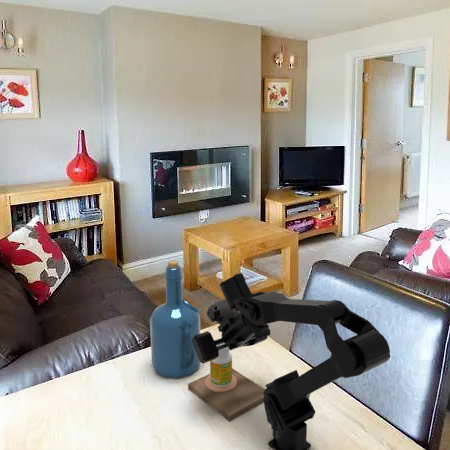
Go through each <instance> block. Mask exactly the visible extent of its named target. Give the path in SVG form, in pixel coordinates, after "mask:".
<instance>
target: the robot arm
mask: <svg viewBox="0 0 450 450" xmlns="http://www.w3.org/2000/svg"><path fill="white" fill-rule="evenodd" d="M219 287H220V288H219V289H220V291H221V292H222V295H223V296H224V298H225V299H221V300H219V301H215V303H213V304H211V305H210V306H209V307H208V308H207V312H206V315H207V318H208V319H209V320H210V322H212V323H214V322H217V323H218V324H219V325H218V326H217V329H218V331H219V332H220V333H221V337H220V338H218V339H214V338H213V335H212V333H211V332H209V331H204V332H202V333H201V332H200V334H198V335H195V336H194V337H193V338H192V344H193V346H194V349H195V351H196V353H197V356H198V358H199V361H200V364H206V363H210V361H212V360H214V359H216V358H217V357H218V356H219V350H222V349H224V348H227V347H229V352H230V351H234V350H235V349H238V348H241V347H251V346H255V345H257V344H259V343H262V342H264V341H266V340H268V337H269V336H271V333H272V332H271V328H270V326H269V324H272V323H276V322H286V323H287V322H288V323H295V324H302V325H303V324H304V325H311V326H318V327H319V328H320V330H321V331H322V332H323V337H324V341H325V345H326V348H327V350H328V351H329V352H330V356H329V358H327V359H325V360H324V361H322V362H320V363H319V364H317V365H315V366H314V367H312V368H311V369H309V370H308V371H306V372H304V373H302V374H300V375H299V373H298V369H295V370H293V371H290V372H288V373H286V374H283V375H281V376H280V377H277V378H275V379H274V380H273V381H271V382H269V383H267V384H264V386H265V387H266V388H264V389H265V390H264V393H263V394H264V398H263V403H262V404H263V407H264V411H265V415H266V416H265V417H266V420H267V423H268V424H269V425H270V426H271V430H272V439H270V440H269V441H268V442H267V444H268V446H269V447H271V448H272V449H273V450H310V449H311V448H312V443H310V442H308V441H307V435H308V434H307V432H308V431H307V429H308V424H307V423H306V422H307V421H309V420H313V418H314V417H315V415H316V410H315V409H314V408H315V407H314V406H313V403H312V402H311V400H310V397H311V394H312V393H314V392H316V391H318V390H320V389H322V388H323V387H325V386H327V385H329V384H331V383H334V382H335V381H337V380H339V379H341V378H343V379H349V378H353V377H358V376H360V375H363V374H364V373H365V374H366V373H367V372H369V371H371V370H373V369H374V368H377V367H379V366H381V365H383V364H385V363H387V362H388V361H389V360H390V359H391V349H390V345H389V343H388V341H387V339H386V338H385V337H384V335H383V334H382V333H380V332H379V330H378V329H377V328H376V327H375V325H373V324H372V323H371V322H370V321H369V320H368V319H366V318H365V317H363V316H361V315H359V314H357V313H355V312H353V310H352V311H351V309H349V307H348V306H347V305H346V304H345V303H344V302H342V301H341V300H336V299H332V300H316V299H315V300H314V299H298V298H297V299H296V298H295V299H294V298H288V297H286V295H284V293H279V292H276V291H270V292H266V291H258V292H254V293H252V291H251V290H250V288H249V285H248V284H247V281H246V279H245V276H244V274H243V272H239V273H237V274H236V273H235V274H234V275H233V276H231V277H229V278H227V279H226V280H223V281H221V282H220V283H219ZM337 324H339V325H341V327H343V328H345V329H347V330H349V331H351V332H353V333H354V334H356V335H353V336H351V337H349V338H348V337H347V338H346V339H343V338H342V337H341V336H340V334H339V332H338V328H337V326H336V325H337ZM223 343H225V344H223ZM220 344H222V345H221V346H220ZM218 345H219V346H218ZM217 346H218V347H217Z"/></svg>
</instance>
